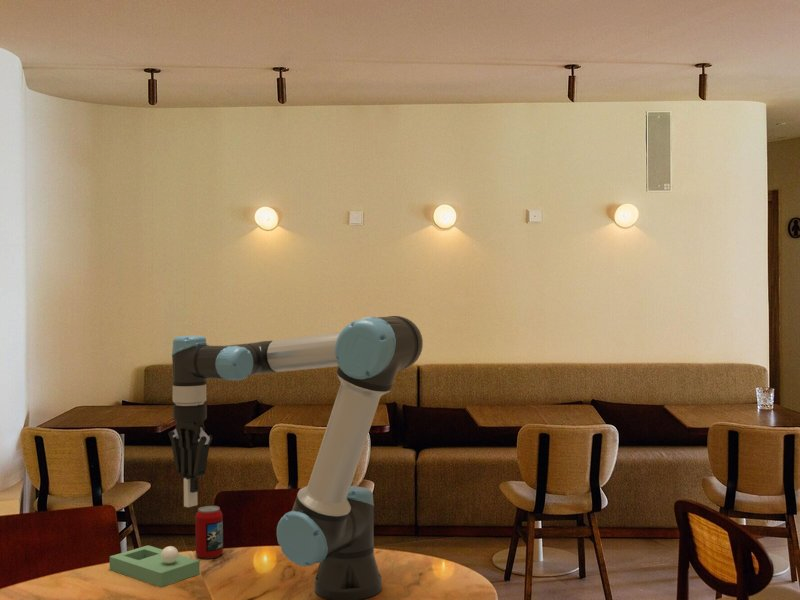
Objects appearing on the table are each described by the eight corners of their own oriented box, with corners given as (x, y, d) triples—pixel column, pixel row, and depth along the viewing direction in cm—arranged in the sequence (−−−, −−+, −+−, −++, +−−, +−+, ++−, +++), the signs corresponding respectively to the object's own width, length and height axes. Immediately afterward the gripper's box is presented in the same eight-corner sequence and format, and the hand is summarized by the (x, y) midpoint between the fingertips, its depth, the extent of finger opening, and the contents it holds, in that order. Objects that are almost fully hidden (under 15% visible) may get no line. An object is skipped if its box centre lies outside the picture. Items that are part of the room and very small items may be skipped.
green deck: (199, 573, 202) (199, 560, 202) (161, 587, 194) (161, 573, 194) (148, 557, 214) (147, 545, 214) (109, 569, 206) (109, 556, 206)
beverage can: (216, 560, 212) (215, 512, 212) (191, 558, 213) (190, 511, 213) (227, 552, 219) (226, 505, 218) (202, 550, 220) (202, 504, 220)
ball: (182, 562, 201) (182, 545, 201) (168, 567, 198) (167, 550, 197) (171, 559, 203) (171, 542, 203) (157, 564, 200) (157, 547, 200)
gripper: (221, 403, 194) (222, 506, 194) (184, 399, 202) (185, 498, 202) (195, 407, 188) (196, 513, 188) (158, 402, 196) (159, 504, 196)
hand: (190, 505), depth 195 cm, fingers closed
